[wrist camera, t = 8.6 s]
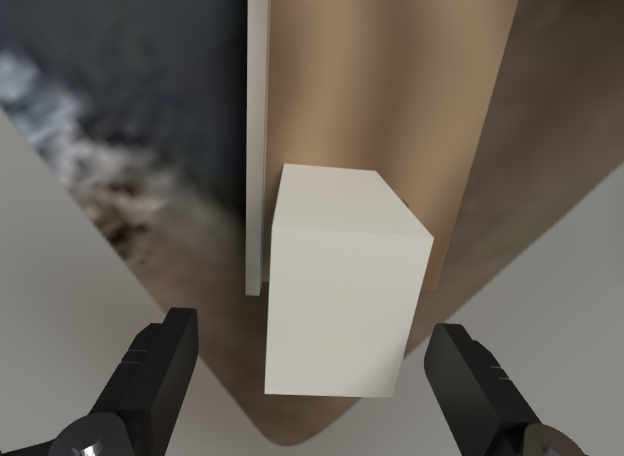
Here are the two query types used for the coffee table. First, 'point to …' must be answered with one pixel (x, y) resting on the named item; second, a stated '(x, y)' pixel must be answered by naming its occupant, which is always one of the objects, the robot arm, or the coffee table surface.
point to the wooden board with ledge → (369, 103)
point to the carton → (340, 283)
